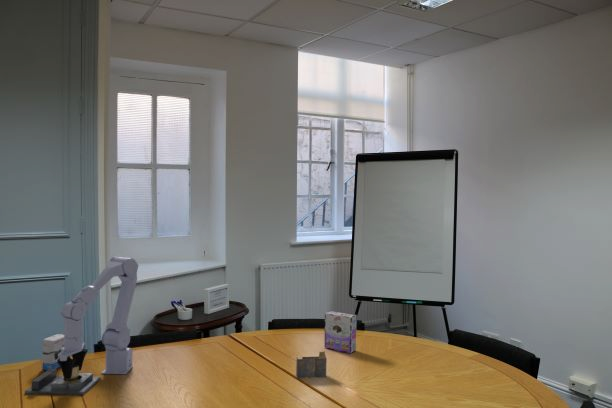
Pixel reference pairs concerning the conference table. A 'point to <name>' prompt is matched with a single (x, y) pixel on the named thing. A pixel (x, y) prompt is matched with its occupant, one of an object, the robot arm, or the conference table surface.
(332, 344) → the candy box
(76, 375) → the bushing
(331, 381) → the conference table surface
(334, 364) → the conference table surface
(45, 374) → the jig
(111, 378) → the conference table surface
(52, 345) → the ink box
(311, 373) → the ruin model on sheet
